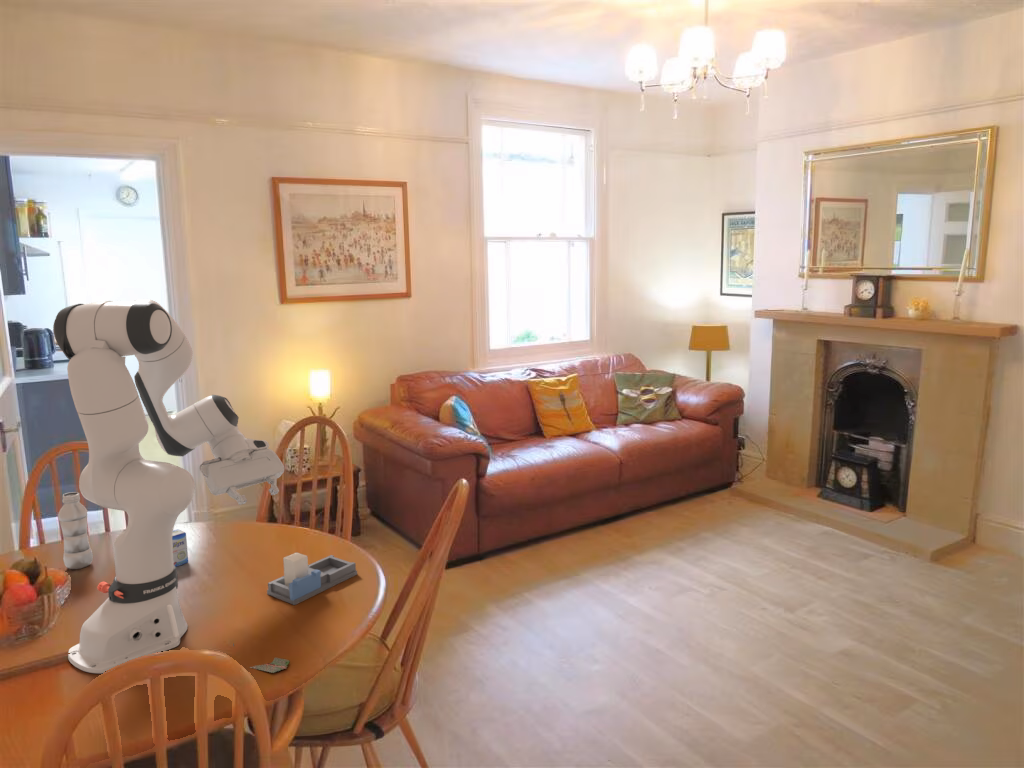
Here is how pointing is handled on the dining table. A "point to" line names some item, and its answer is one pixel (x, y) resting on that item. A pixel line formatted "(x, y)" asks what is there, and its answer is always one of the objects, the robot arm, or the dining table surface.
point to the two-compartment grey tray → (313, 580)
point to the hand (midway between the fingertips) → (260, 498)
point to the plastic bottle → (74, 532)
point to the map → (273, 665)
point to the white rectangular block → (295, 567)
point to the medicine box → (179, 548)
